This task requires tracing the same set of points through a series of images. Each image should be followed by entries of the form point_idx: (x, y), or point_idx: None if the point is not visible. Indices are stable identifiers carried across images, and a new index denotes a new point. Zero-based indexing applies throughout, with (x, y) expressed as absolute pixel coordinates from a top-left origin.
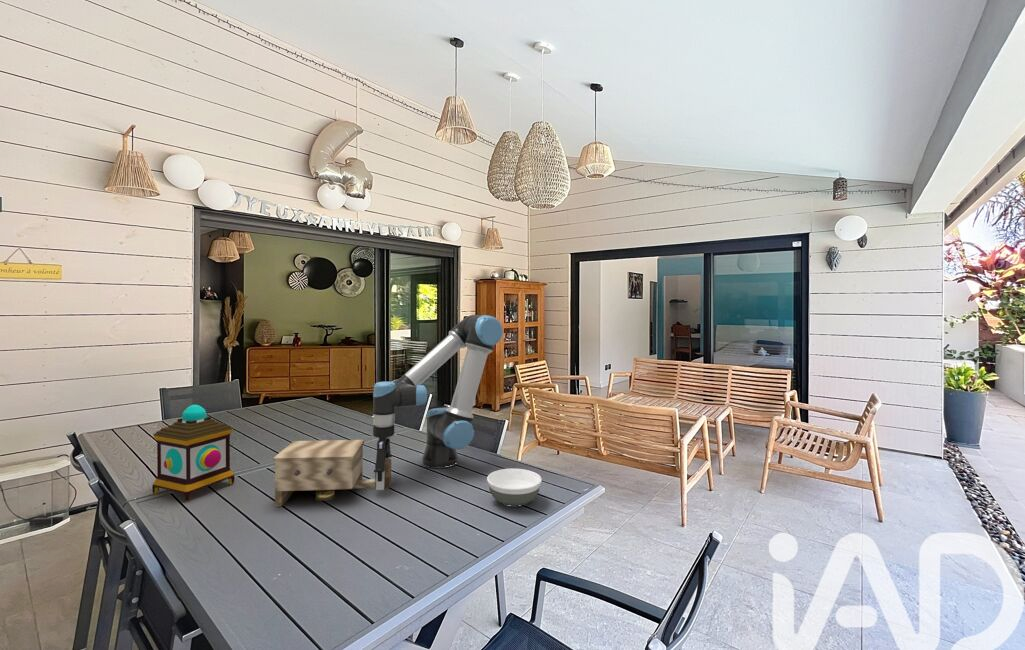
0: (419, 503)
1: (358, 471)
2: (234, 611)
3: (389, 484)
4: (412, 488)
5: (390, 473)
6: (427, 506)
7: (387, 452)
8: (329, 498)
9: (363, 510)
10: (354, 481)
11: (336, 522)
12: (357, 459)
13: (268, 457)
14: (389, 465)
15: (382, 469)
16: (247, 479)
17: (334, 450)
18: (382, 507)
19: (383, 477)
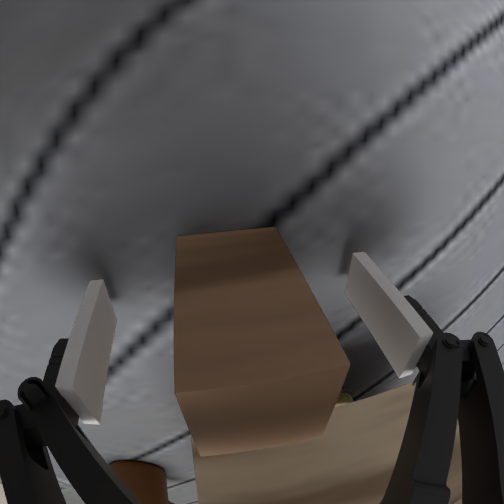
0: (479, 52)
1: (318, 438)
2: None
3: (271, 238)
4: (294, 60)
5: (228, 283)
6: (498, 29)
7: (105, 469)
8: (350, 397)
9: (466, 273)
10: (400, 397)
11: (485, 312)
12: (373, 496)
13: (77, 497)
14: (340, 348)
15: (494, 344)
16: (192, 501)
17: None
18: (474, 213)
19: (407, 304)
